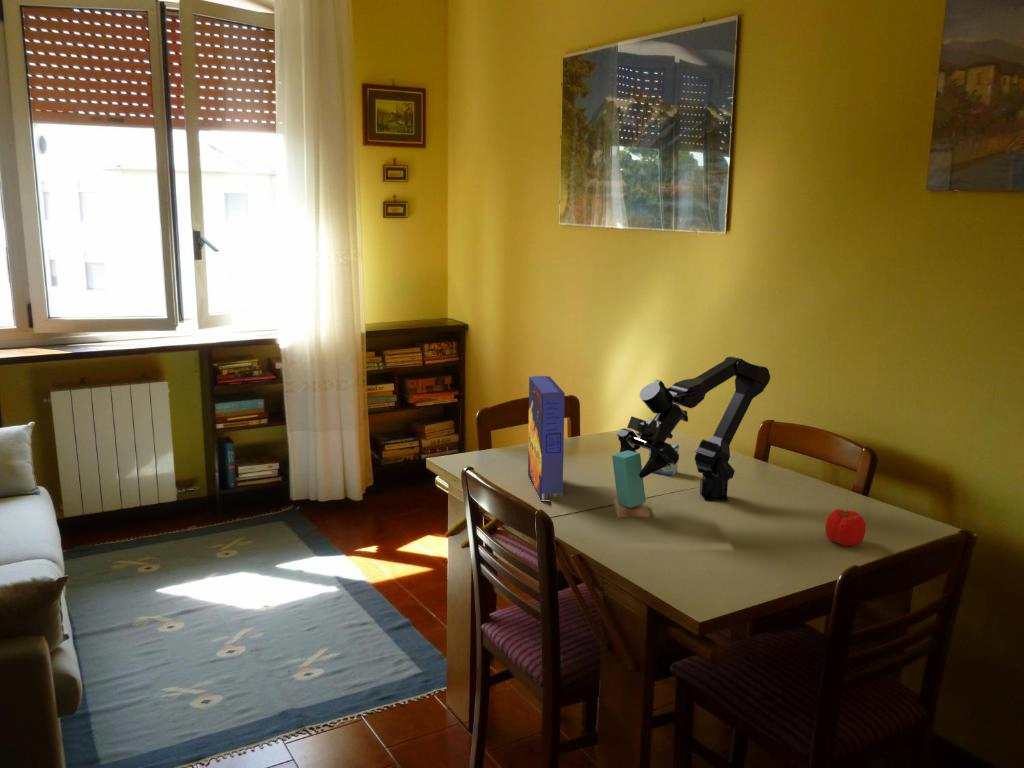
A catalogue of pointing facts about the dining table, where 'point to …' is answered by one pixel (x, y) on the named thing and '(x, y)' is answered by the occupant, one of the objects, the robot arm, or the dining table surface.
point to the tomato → (845, 527)
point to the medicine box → (668, 469)
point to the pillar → (628, 478)
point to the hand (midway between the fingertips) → (628, 472)
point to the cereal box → (546, 437)
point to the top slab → (631, 510)
